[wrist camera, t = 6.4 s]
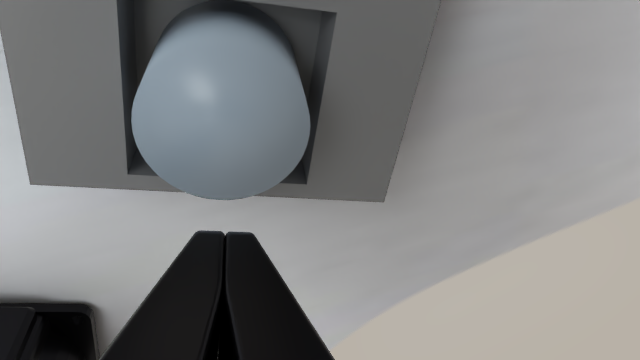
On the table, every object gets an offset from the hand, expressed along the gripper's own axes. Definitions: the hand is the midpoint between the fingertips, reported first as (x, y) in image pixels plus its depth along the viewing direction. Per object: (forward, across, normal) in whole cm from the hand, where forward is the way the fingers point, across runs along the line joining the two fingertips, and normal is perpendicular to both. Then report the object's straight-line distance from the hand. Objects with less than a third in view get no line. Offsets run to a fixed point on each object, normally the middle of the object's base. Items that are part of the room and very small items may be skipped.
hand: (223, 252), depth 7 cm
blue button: (+8, 0, 0) cm, 8 cm away
